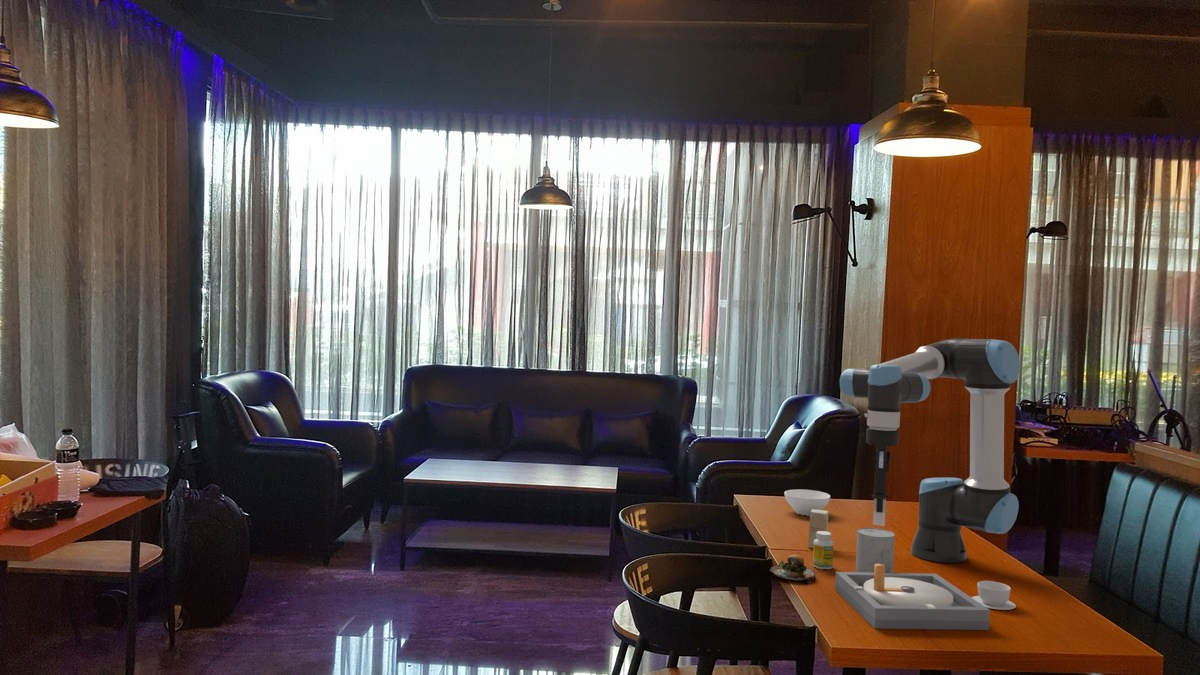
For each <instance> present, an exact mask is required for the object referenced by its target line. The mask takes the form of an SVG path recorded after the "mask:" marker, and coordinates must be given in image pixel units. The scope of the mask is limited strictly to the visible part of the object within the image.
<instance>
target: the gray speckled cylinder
mask: <svg viewBox="0 0 1200 675" xmlns="http://www.w3.org/2000/svg"><path fill="white" fill-rule="evenodd" d="M856 533H857V534H856V535H857V536H856V560H855V572H870V573H874V565H875V564H883V565H885V573H894V557H895V556H894V553H895V533H894V532H893V531H890V530H888V529H884V528H877V527H862V528H861V527H860V528H858V529H857V530H856Z"/></svg>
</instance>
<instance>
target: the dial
mask: <svg viewBox="0 0 1200 675" xmlns="http://www.w3.org/2000/svg"><path fill="white" fill-rule="evenodd" d="M864 591H865V592H866V593H867V594H869V595H870V596H871V597H872V598H873V599H874V600H875V601H876V602H878V603H879V604H880V605H897V606H926V604H932V605H933V606H953V595H952V594H951V593H950V592H949V591H947V590H946V589H944V588H942V587H939V586H937V585H934V584H931V583H927V582H923V581H919V580H913V579H907V578H896V577H885V565H883V564H875V565H874V579H870V580H868V581H866V582H865V583H864Z"/></svg>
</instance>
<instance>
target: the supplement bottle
mask: <svg viewBox="0 0 1200 675" xmlns="http://www.w3.org/2000/svg"><path fill="white" fill-rule="evenodd" d="M816 537H817V539H815V540H814V544H813V548H812V549H813V552H812V553H813V554H812V565H813V567H814V568H815V567H816V569H819V570H823V569H827V570H831V569H833V566H834V564H833V563H834V542H833V541H832V540H831V539H832V533H831V532H829V531H827V532H826V531H818V532H816Z"/></svg>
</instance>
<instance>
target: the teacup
mask: <svg viewBox="0 0 1200 675" xmlns="http://www.w3.org/2000/svg"><path fill="white" fill-rule="evenodd" d="M976 585H977V593H978V595H975V596H972V597H971V598H973V599H974V600H976V601H977V602H979V603H980V604H982V605H983V606H984V607H986V608H987V609H991V610H992V609H994V610H1000V611H1007V610H1013V609H1015V608H1017V605H1016V604H1015V603H1014V602H1013V601H1010V600H1009V599H1010V597H1011V596H1010V595H1011V590H1012V588H1011V587H1010V586H1009V585H1008V584H1005V583H1002V582H999V581H998V582H997V581H993V580H982V581H981V580H980V581H978V582H977V584H976Z"/></svg>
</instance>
